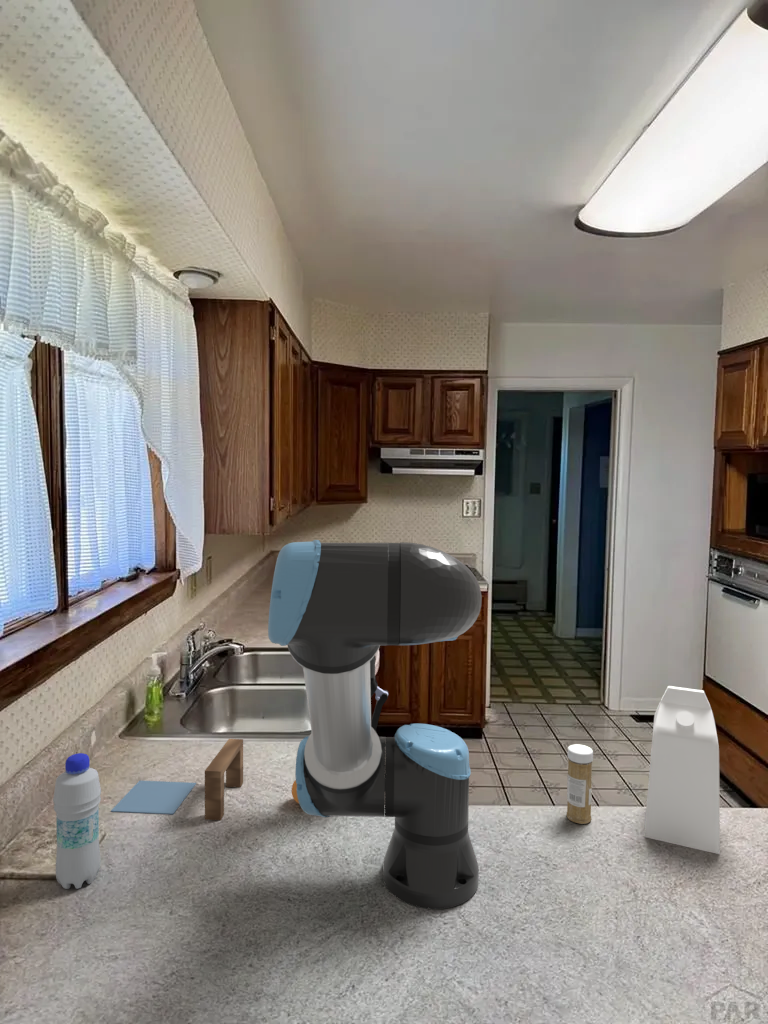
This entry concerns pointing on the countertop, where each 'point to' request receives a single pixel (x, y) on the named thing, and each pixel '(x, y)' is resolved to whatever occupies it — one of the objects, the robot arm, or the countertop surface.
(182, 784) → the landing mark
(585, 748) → the sprinkles bottle
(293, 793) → the ball
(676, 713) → the milk
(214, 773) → the bridge
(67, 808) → the bottle
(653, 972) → the countertop surface
